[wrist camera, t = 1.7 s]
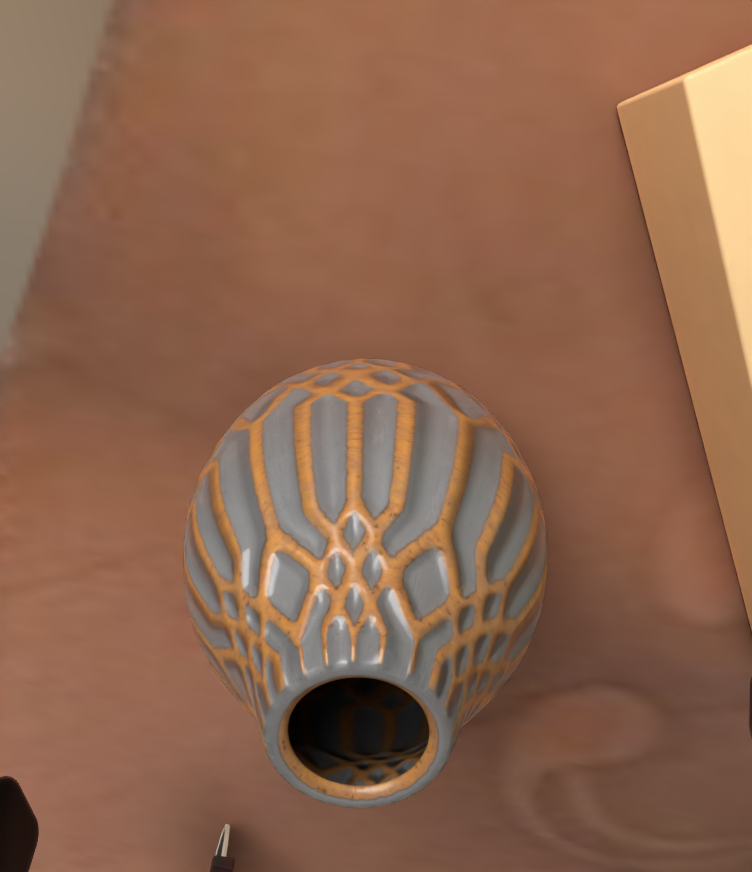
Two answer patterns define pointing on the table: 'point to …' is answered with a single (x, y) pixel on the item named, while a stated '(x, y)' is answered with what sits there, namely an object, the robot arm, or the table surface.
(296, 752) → the vase
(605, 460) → the table surface
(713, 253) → the box stack
